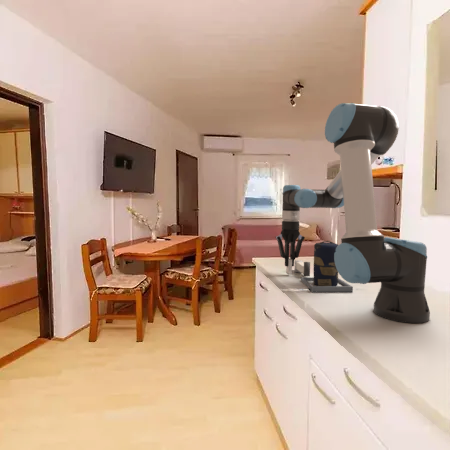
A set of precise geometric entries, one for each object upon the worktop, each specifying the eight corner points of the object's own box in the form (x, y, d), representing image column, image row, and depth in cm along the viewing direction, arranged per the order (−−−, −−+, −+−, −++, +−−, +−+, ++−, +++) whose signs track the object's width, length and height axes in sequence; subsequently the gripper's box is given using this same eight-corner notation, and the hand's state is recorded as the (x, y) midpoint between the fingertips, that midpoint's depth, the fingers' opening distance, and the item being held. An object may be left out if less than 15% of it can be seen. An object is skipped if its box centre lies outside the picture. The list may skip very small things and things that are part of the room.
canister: (339, 289, 125) (341, 242, 124) (313, 288, 127) (315, 241, 126) (335, 283, 135) (337, 239, 133) (312, 282, 137) (313, 238, 135)
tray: (352, 292, 124) (352, 286, 124) (311, 292, 123) (312, 286, 123) (337, 282, 139) (337, 277, 138) (300, 282, 138) (300, 277, 137)
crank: (293, 270, 156) (294, 256, 156) (301, 270, 156) (301, 256, 156) (303, 278, 141) (303, 262, 140) (311, 278, 141) (312, 262, 140)
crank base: (306, 275, 152) (306, 273, 152) (293, 275, 151) (293, 273, 151) (302, 272, 158) (302, 270, 158) (290, 272, 157) (290, 270, 157)
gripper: (279, 221, 139) (277, 275, 141) (308, 221, 142) (306, 275, 144) (273, 219, 147) (272, 272, 148) (301, 220, 149) (299, 271, 151)
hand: (289, 273), depth 146 cm, fingers closed
